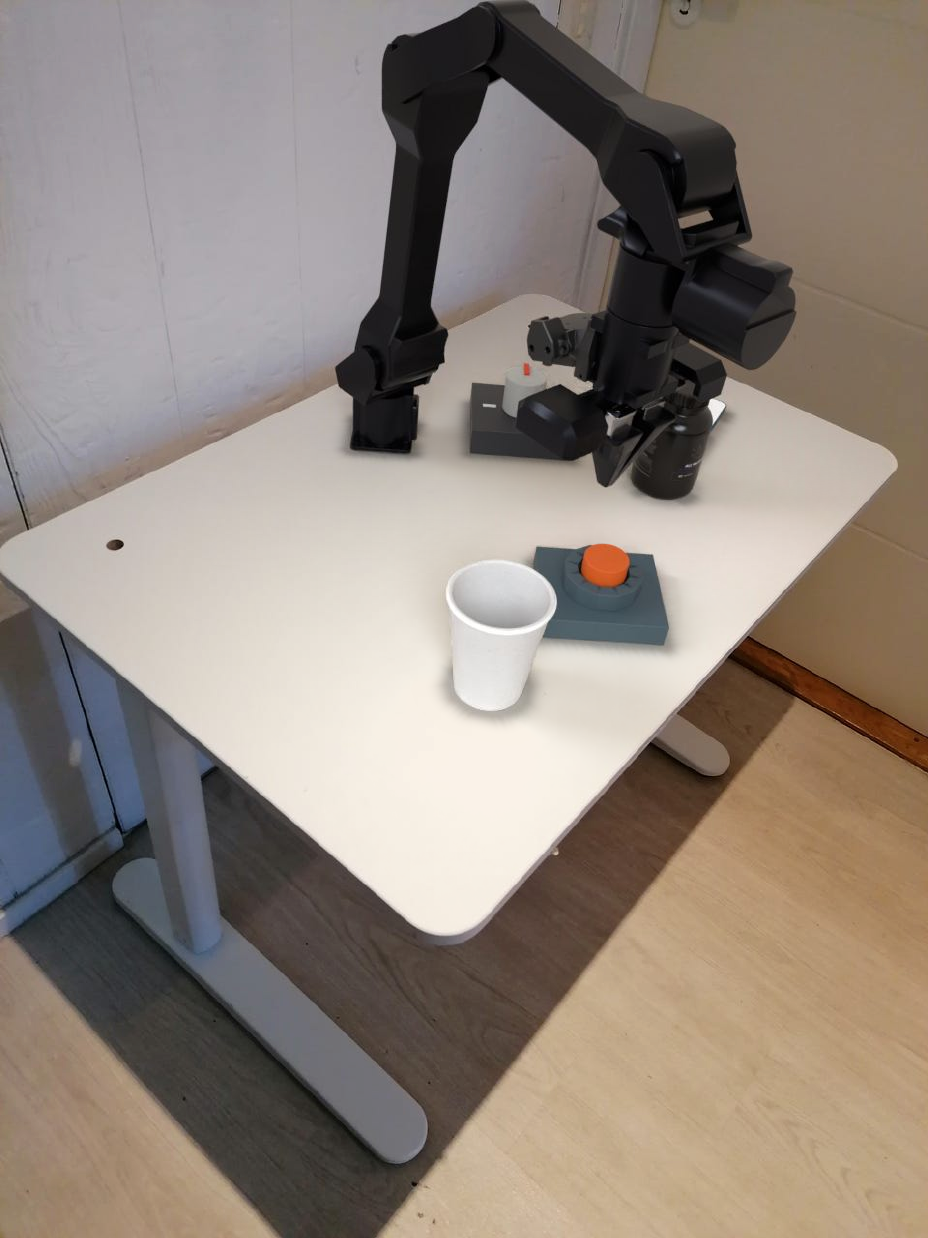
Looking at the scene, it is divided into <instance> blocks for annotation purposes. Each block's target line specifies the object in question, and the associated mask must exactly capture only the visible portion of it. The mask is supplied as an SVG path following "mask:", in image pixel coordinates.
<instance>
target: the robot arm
mask: <svg viewBox="0 0 928 1238" xmlns="http://www.w3.org/2000/svg"><path fill="white" fill-rule="evenodd" d="M390 42H391V43H387V44H386V46H385V48H384V49H385V50H384V52H383V55H382V60H381V112H382V115H383V117H384V119H385V121H386V124H387V126H388V128H389V131H390V132H391V135H392V137H393V139H394V142H395V152H394V162H393V171H392V180H391V189H390V197H389V207H388V215H387V224H386V231H385V232H386V233H385V241H384V249H383V259H382V260H383V261H382V268H381V275H380V276H381V278H380V286H379V294H378V296H377V298H376V299H375V301H374V303H373V304H372V305H371V307H370V308H369V309H368V311H367V313H366V314H365V316H364V317H363V318H362V319H361V321H360V323H359V327H358V332H357V334H356V340H355V344H354V349H353V352H352V353H350V354H349V355H348V356H346V357H345V358H343V360H341V361H340V362H339V363H338V364H337V365H336V366H335V367H334V371H335V375H336V380H337V386H338V388H339V389H341V390H342V391H344V392H345V393H346V394H347V395H349V396H350V397H352V422H351V423H352V424H351V425H352V427H351V428H352V429H351V434H350V435H351V436H350V441H349V448H350V450H353V451H363V452H375V453H377V452H378V453H391V454H405V455H408V454H411V453H412V449H413V448H412V447H413V441H416V440H417V438H418V425H419V410H420V409H419V407H420V396H419V394H416V393H415V388H417V387H419V386H423V385H424V386H426V385H428V384H430V382H431V380H432V379H431V378H432V377H433V374H435V373H436V372H438V370H439V367H440V366H441V365H443V364H445V363H446V360H445V348H446V344H447V340H448V339H449V331H448V329H447V327H445V326H443V325H441V324H440V322H439V320H438V318H437V316H436V314H435V313H436V312H435V311H434V309H433V307H432V299H433V292H434V287H435V280H436V273H437V267H438V261H439V256H440V255H439V254H440V247H441V241H442V235H443V229H444V223H445V217H446V216H445V215H446V210H447V204H448V197H449V191H450V186H451V185H450V184H451V178H452V172H453V167H454V166H453V165H454V159H455V157H456V154H457V153H458V151H459V149H460V148H461V146H462V145H463V144H464V142H465V141H466V139H468V137H469V135H470V134H471V132H472V131H473V130H474V128H475V127H476V125H477V124H478V122H479V118H480V115H481V111H482V109H483V106H484V101H485V99H486V95H487V92H488V89H489V86H492V85H493V84H495V83H497V82H498V81H501V80H504V81H506V83H508V84H509V85H510V86H511V87H513V88H514V89H515V90H516V91H517V92H518V93H520V94H521V95H523V97H524V98H526V99H527V100H528V101H529V102H530V103H532V104H533V105H534V106H535V107H536V108H538V109H539V110H540V111H541V112H543V113H544V114H545V115H546V116H547V117H548V118H550V120H552V121H553V122H555V124H557V125H558V126H559V127H561V128H562V129H563V130H564V131H565V132H566V133H568V134H569V135H570V136H571V137H572V138H574V139H575V140H576V141H577V142H578V143H580V144H581V145H582V146H583V147H584V148H586V149H587V151H588V152H589V153H590V155H592V156H593V158H594V159H595V161H596V164H597V168H598V171H599V176H600V179H601V182H602V184H603V186H604V187H605V188H606V190H607V191H608V192H609V193H610V194H611V196H612V197H613V198H614V200H616V202H617V203H618V204H619V206H618V207H617V208H616V209H614V211H612V212H610V213H609V214H607V215H605V216H604V217H601V218H599V219H598V220H597V222H596V226H597V229H598V230H599V231H601V232H603V233H605V234H607V235H609V236H611V237H613V238H615V239H617V240H618V241H619V243H618V247H617V252H616V257H615V261H614V262H615V263H614V266H613V267H614V268H613V271H612V276H611V282H610V287H609V292H608V297H607V301H606V305H605V309H604V310H602V311H599V312H596V313H590V312H588V313H587V312H576V313H570V314H566V315H563V316H560V317H559V316H554V317H551V318H550V317H549V316H548V315H544V316H541V317H538V318H536V319H532V320H531V321H530V324H529V328H528V332H527V336H526V347H527V355H528V356H529V358H530V359H531V360H532V361H534V362H541V364H542V365H543V366H545V367H551V366H552V365H554V366H555V365H556V366H562V367H563V366H564V367H570V368H574V370H573V371H574V372H573V377H574V378H575V379H578V380H580V381H581V382H583V383H587V382H590V383H591V384H592V386H591V389H589V390H586V391H583V392H581V393H576V392H574V391H573V390H571V389H569V388H568V387H566V386H565V385H564V384H562V383H558V384H556V385H553V386H551V387H548V388H547V389H545V390H543V391H540V392H538V393H535V394H532V395H530V396H528V397H526V398H524V399H522V400H520V401H519V403H518V410H517V416H516V424H515V428H516V429H518V430H519V431H521V432H522V433H524V434H525V435H527V436H528V437H530V438H531V439H532V440H534V441H535V442H537V443H538V444H540V445H541V446H543V447H544V448H546V449H547V450H549V451H550V452H552V453H553V454H554V455H556V456H557V457H559V458H560V459H562V460H561V461H564V460H568V461H567V462H574V461H576V460H579V459H581V458H583V457H585V456H588V455H590V454H591V455H592V462H593V466H594V473H595V477H596V482H597V483H598V484H599V485H600V486H602V487H603V488H605V489H607V488H609V487H611V486H613V485H614V484H615V483H616V482H617V481H618V480H619V479H620V478H621V476H622V475H623V474H624V473H625V472H626V471H627V470H628V468H629V467H630V466H631V465H633V462H634V460H635V459H636V458H637V457H638V456H639V455H640V454H641V453H642V452H643V451H644V450H645V449H646V447H647V446H648V445H649V444H650V443H651V442H652V441H653V440H654V439H655V438H656V437H657V436H658V435H659V434H660V433H661V432H662V431H663V430H664V429H665V428H666V427H667V426H668V425H669V424H671V423H673V422H674V420H675V418H676V415H675V414H674V413H672V412H671V411H669V410H667V409H666V408H664V403H665V400H664V399H661V398H663V397H664V396H667V395H669V394H671V393H674V392H676V390H679V389H681V388H683V387H685V384H686V382H685V381H687V380H689V381H691V382H693V383H694V384H695V388H694V391H693V396H694V398H695V399H696V400H697V401H698V402H700V403H704V402H706V401H708V400H710V399H713V398H714V399H716V397H720V396H721V395H722V394H723V390H724V387H725V385H726V384H725V383H726V380H727V376H728V373H727V371H726V369H725V366H724V362H723V361H722V359H721V358H719V357H717V356H715V355H714V354H711V353H709V352H708V351H705V350H704V349H703V348H700V347H699V346H697V345H695V344H693V343H691V341H693V342H694V343H696V344H699V345H700V346H702V347H704V348H706V349H708V350H709V351H711V352H713V353H715V354H717V355H719V356H721V357H723V358H725V359H726V360H729V361H730V362H732V363H733V364H735V365H737V366H739V367H741V368H743V369H745V370H748V371H755V370H757V369H759V368H761V367H762V366H764V365H765V364H767V362H769V361H770V360H771V358H773V357H774V355H775V354H776V353H777V352H778V351H779V350H780V348H781V347H782V345H783V344H784V342H785V340H786V339H787V337H788V336H789V334H790V332H791V329H792V327H793V325H794V323H795V320H796V316H797V313H798V312H797V311H796V309H795V308H796V302H797V301H796V299H797V298H796V294H795V290H794V289H793V288H792V287H790V286H789V285H790V283H791V280H792V277H793V275H794V270H793V267H792V266H789V265H787V264H785V263H783V262H780V261H778V260H773V259H767V258H765V257H762V256H760V255H758V254H756V253H754V252H751V251H749V250H747V249H745V248H743V247H740V245H744V244H747V243H750V242H751V241H752V239H753V231H752V228H751V224H750V219H749V215H748V210H747V207H746V202H745V199H744V195H743V191H742V186H741V182H740V179H739V175H738V170H737V165H738V161H737V156H736V155H737V154H736V148H737V144H736V140H735V139H734V137H733V135H732V133H731V132H730V131H729V130H728V129H727V128H726V127H725V126H724V125H723V124H721V123H719V122H718V121H716V120H714V119H712V118H709V117H707V116H705V115H703V114H702V113H699V112H696V111H695V110H692V109H690V108H689V107H686V106H682V105H679V104H676V103H671V102H667V101H663V100H660V99H655V98H653V97H650V96H648V95H646V94H643V93H642V92H639V90H637V89H635V88H634V87H633V86H631V85H630V84H629V83H628V82H626V80H624V79H623V78H622V77H620V76H619V75H617V74H616V73H615V72H614V71H613V70H611V69H610V68H609V67H607V66H606V65H605V64H603V62H601V61H600V60H598V59H597V58H596V57H594V56H593V55H592V54H591V53H590V52H588V51H587V50H586V49H584V47H582V46H581V45H579V44H578V43H577V42H575V41H574V40H573V39H572V38H571V37H569V36H568V35H567V34H566V33H564V32H563V31H562V30H560V29H559V28H558V27H556V26H555V25H554V24H552V23H551V22H550V21H549V20H547V18H545V17H543V16H542V14H541V11H540V10H539V8H538V7H537V5H535V4H534V3H532V2H530V1H529V0H485V1H480V2H478V3H477V4H476V5H475V6H473V7H470V9H468V10H466V11H464V12H463V13H461V14H460V15H459V16H457V17H454V18H452V19H450V20H448V21H445V22H442V23H441V24H438V25H436V26H434V27H431V28H429V29H427V30H424V31H422V32H413V33H404V34H400V35H397V36H396V37H395V38H394V39H393V40H392V41H390ZM705 212H708V213H709V215H710V217H711V218H712V219H710V220H707V221H703V222H700V223H697V224H693V225H690V226H686V227H681V226H680V221H679V220H680V219H683V218H687V217H691V216H694V215H697V214H701V213H705Z"/></svg>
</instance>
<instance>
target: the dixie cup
mask: <svg viewBox="0 0 928 1238" xmlns="http://www.w3.org/2000/svg"><path fill="white" fill-rule="evenodd" d="M445 587H446V588H445V598H446V603H447V605H448V608H449V622H450V623H449V624H450V625H449V627H450V641H451V656H452V657H451V658H452V659H451V660H452V674H453V675H452V676H453V687H454V691H455V693H456V695H457V696H458V698H459V699H460V700H461V701H462V702H463V703H465V704H466V705H468V706H469V707H472V708H474V709H477V710H481V711H487V712H496V711H501V710H505V709H507V708H510V707H512V706H513V705H514V704H516V703H517V702H518V700H520V698H521V696H522V693H523V690H524V687H525V685H526V682H527V681H528V678H529V675H530V671H531V669H532V666H533V664H534V661H535V658H536V655H537V653H538V651H539V648H540V645H541V642H542V639H543V638H544V637H543V634H544V632H545V629H546V626H547V623H548V621H549V620H550V619H551V618H552V616H553V615H554V612H555V610H556V605H557V598H556V594H555V591H554V589H553V587H552V586H551V584H550V583H549V582H548V580H547V579H546V578H545V577H544V576H542V575H541V574H540V573H538V572H537V571H535V570H534V568H532V567H530V566H528V565H525V564H523V563H520V562H517V561H513V560H506V559H495V558H493V559H483V560H478V561H474V562H471V563H469V564H466V565H464V566H462V567H461V568H459V569H458V570H456V571H455V572H454V573H453V574H452V576H451V577H450V578H449V580H448V581H447V584H446V586H445Z"/></svg>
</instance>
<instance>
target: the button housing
mask: <svg viewBox="0 0 928 1238" xmlns="http://www.w3.org/2000/svg"><path fill="white" fill-rule="evenodd" d="M592 545H593V544H589V545H585V546H582V547H577V548H568V547H567V548H566V547H565V548H564V547H554V546H553V547H552V546H537V545H536V546H535V553H534V557H533V563H532V565H533V569H534V570H535V571H537V572H538V573H540V574H541V575H542V576H544V577H545V578H546V579H547V580H548V582H549V583H550V584H551V586H552V587H553V589H554V591H555V594H556V598H557V605H556V610H555V612H554V615H553V616H552V618H551V619H550V620H549V621H548V623H547V626H546V629H545V632H544V634H543V637H542V638H544V639H545V638H546V639H560V640H577V641H591V642H606V643H621V644H622V643H623V644H637V645H639V644H640V645H652V646H665V642H666V639H667V636H668V633H669V629H670V625H669V620H668V616H667V612H666V611H667V610H666V606H665V603H664V598H663V594H662V590H661V584H660V580H659V575H658V571H657V567H656V562H655V557H654V554H652V553H639V552H638V553H637V552H625V553H626V554H627V555H628V557H629V560H630V563H629V567H628V571H627V575H626V578H625V581H624V582H623V583H622V584H620V585H619V586H616V587H603V586H598V585H596V584H593V583H591V582H589V581H587V580H586V579H585V578H584V577H583V575H582V573H581V566H582V561H583V557H584V553H585V551H586V549H587V548H588V547H590V546H592Z"/></svg>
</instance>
